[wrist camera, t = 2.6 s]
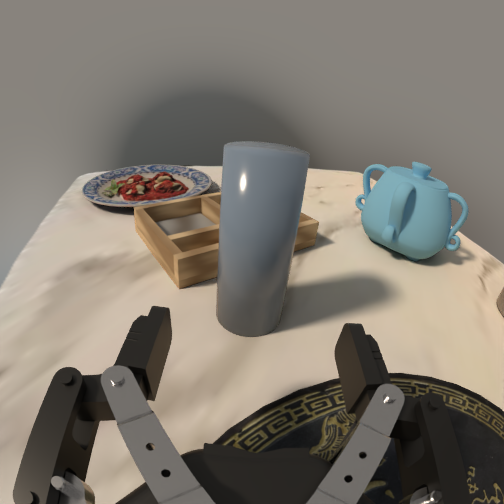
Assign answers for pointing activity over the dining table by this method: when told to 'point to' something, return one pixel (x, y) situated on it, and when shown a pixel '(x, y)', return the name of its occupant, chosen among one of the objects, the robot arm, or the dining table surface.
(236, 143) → the pale blue cylinder
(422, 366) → the dining table surface
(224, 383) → the dining table surface
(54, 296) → the dining table surface
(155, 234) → the wooden compartment tray
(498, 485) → the decorative plate
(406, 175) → the decorative pot
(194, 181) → the ceramic plate
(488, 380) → the dining table surface
